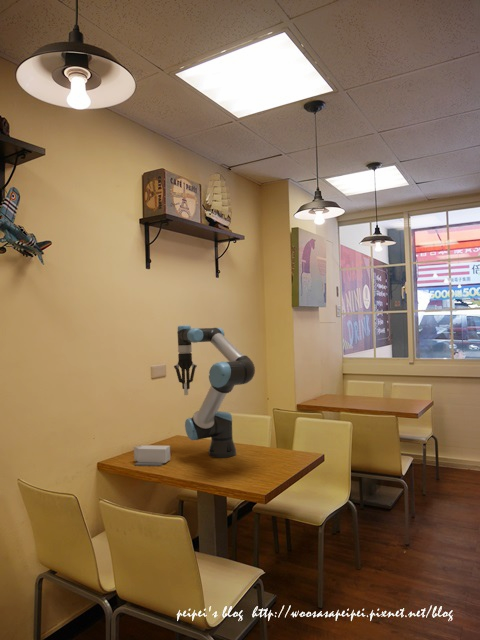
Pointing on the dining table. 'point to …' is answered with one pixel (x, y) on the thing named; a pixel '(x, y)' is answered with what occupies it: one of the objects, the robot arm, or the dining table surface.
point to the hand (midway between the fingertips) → (186, 394)
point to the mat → (147, 464)
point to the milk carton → (152, 454)
